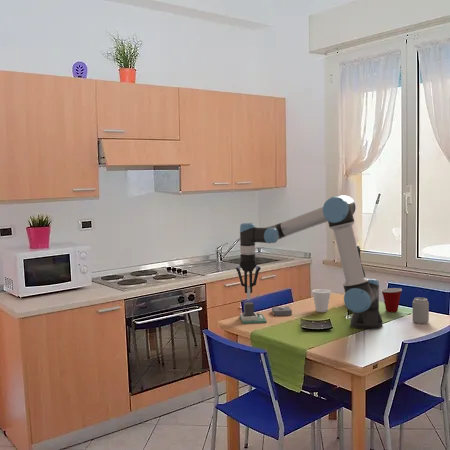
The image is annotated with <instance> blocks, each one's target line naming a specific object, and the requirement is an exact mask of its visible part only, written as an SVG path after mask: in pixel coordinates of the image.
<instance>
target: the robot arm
mask: <svg viewBox="0 0 450 450" xmlns="http://www.w3.org/2000/svg"><path fill="white" fill-rule="evenodd" d="M356 207H357V206H356V203H355V201H354V199H353V198H352V197H350V196H349V195H344V194H342V195H334V196H331V197H329V198H328V199H327V200H326V201H325V202H324V204H323V206H322V207H319V208H317V209H313V210H311V211H309V212H305V213H303V214H300V215H298V216H296V217H293V218H290V219H287V220H285V221H282V222H280V223H277V224H274V225H270V226H266V227H256V224H255V223H253V222H244V223H241V224H240V225H239V239H240V240H239V241H240V242H239V243H240V244H239V245H240V247H239V248H240V250H239V251H240V256H239V257H240V263H239V265H238V266H236V267H235V270H236V272H237V275H238V278H239V282H240V286H241V287H244V294H246V300H247V301H251V294H252V293H253V287H254V286H256V285H257V280H258V277H259V273H260V270H261V266H259V265H257V262H256V243H261V244H262V243H264V244H275V243H277V242H278V240H281V239H283V238H285V237H288V236H291V235H294V234H297V233H299V232H302V231H305V230H308V229H310V228H314V227H316V226H318V225H322V224H326V223H327V224H328V227H329V229H331V230H332V231H333V234H334V238H335V241H336V246H337V250H338V255H339V258H340V262H341V267H342V271H343V272H342V273H343V276H344V279H345V281H344V283H343V284H342V285H343V290H344V293H345V294H344V296H343V302H344V305H345V308H347V309H348V310H349V311H351V312H352V314H351V318H350V326H351V327H352V328H355V329H359V330H378V329H381V328H383V327H384V326H383V325H384V323H383V322H384V321H383V319H382V315H381V311H380V282H379V280H378V279H375V278H367V277H366V276H365V277H366V278H365V277H364V274H363V270H362V267H363V265H362V266H361V264H362V261H361V262H360V258H361V256H360V257H359V253H358V249H357V246H358V245H357V242H356V237H355V234H354V233H355V232H354V229H353V228H354V227H353V225H354V224H355V218H354V214H355V212H356V209H357V208H356ZM241 270H242V271H243V276H242V273H241ZM254 270H255V274H254V276H253V271H254ZM243 277H244V278H243ZM248 278H249V280H248ZM243 279H244V280H243ZM248 281H249V282H248ZM248 283H249V284H248ZM248 285H249V286H248Z"/></svg>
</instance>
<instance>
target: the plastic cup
mask: <svg viewBox="0 0 450 450" xmlns="http://www.w3.org/2000/svg"><path fill="white" fill-rule="evenodd" d="M402 291H403V289H402V288H400V287H399V288H397V287H390V288H389V287H388V288H382V289H380V292H381V293H382V294H381V295H382V297H383V303H384V307H385V312H387V313H397V312H398V310H399V306H400V300H401V295H402Z"/></svg>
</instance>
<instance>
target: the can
mask: <svg viewBox="0 0 450 450" xmlns="http://www.w3.org/2000/svg"><path fill="white" fill-rule="evenodd" d="M429 305H430V303H429V301H428V298H425V297H414V299H413V301H412V321H413V323H414V324H418V325H426V324H428V323H429V320H430V319H429V318H430V316H429V315H430V311H429V307H430V306H429Z"/></svg>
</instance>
